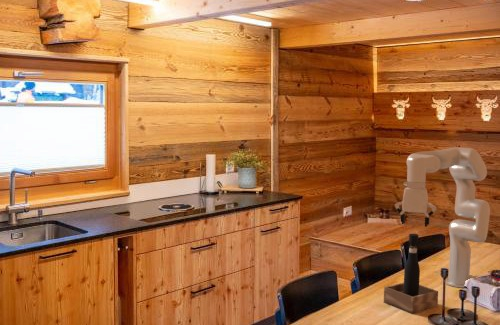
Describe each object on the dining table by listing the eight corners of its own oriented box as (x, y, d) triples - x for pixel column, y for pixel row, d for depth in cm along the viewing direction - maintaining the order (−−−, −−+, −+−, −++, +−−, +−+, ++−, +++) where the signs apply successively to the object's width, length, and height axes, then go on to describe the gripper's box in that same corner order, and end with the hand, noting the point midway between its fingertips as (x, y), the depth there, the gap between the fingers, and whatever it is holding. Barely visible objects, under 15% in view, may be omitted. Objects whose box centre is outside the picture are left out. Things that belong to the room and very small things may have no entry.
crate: (408, 296, 262) (409, 281, 261) (437, 307, 249) (438, 291, 248) (383, 302, 253) (384, 287, 252) (412, 314, 240) (412, 297, 239)
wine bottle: (400, 300, 253) (402, 233, 249) (412, 299, 255) (415, 232, 252) (408, 305, 247) (412, 236, 243) (421, 304, 249) (424, 235, 246)
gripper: (393, 185, 246) (392, 224, 248) (435, 188, 238) (434, 228, 240) (397, 182, 252) (396, 221, 254) (438, 185, 245) (436, 225, 247)
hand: (414, 224), depth 247 cm, fingers open, 9 cm apart
